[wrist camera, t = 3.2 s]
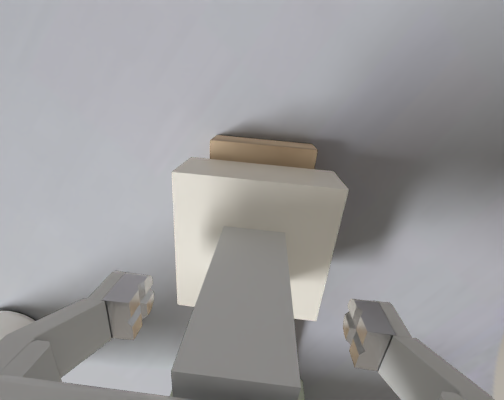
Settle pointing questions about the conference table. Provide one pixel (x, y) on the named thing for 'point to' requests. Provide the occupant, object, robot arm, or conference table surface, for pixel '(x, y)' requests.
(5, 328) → the water bottle
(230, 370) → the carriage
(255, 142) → the block
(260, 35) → the conference table surface
